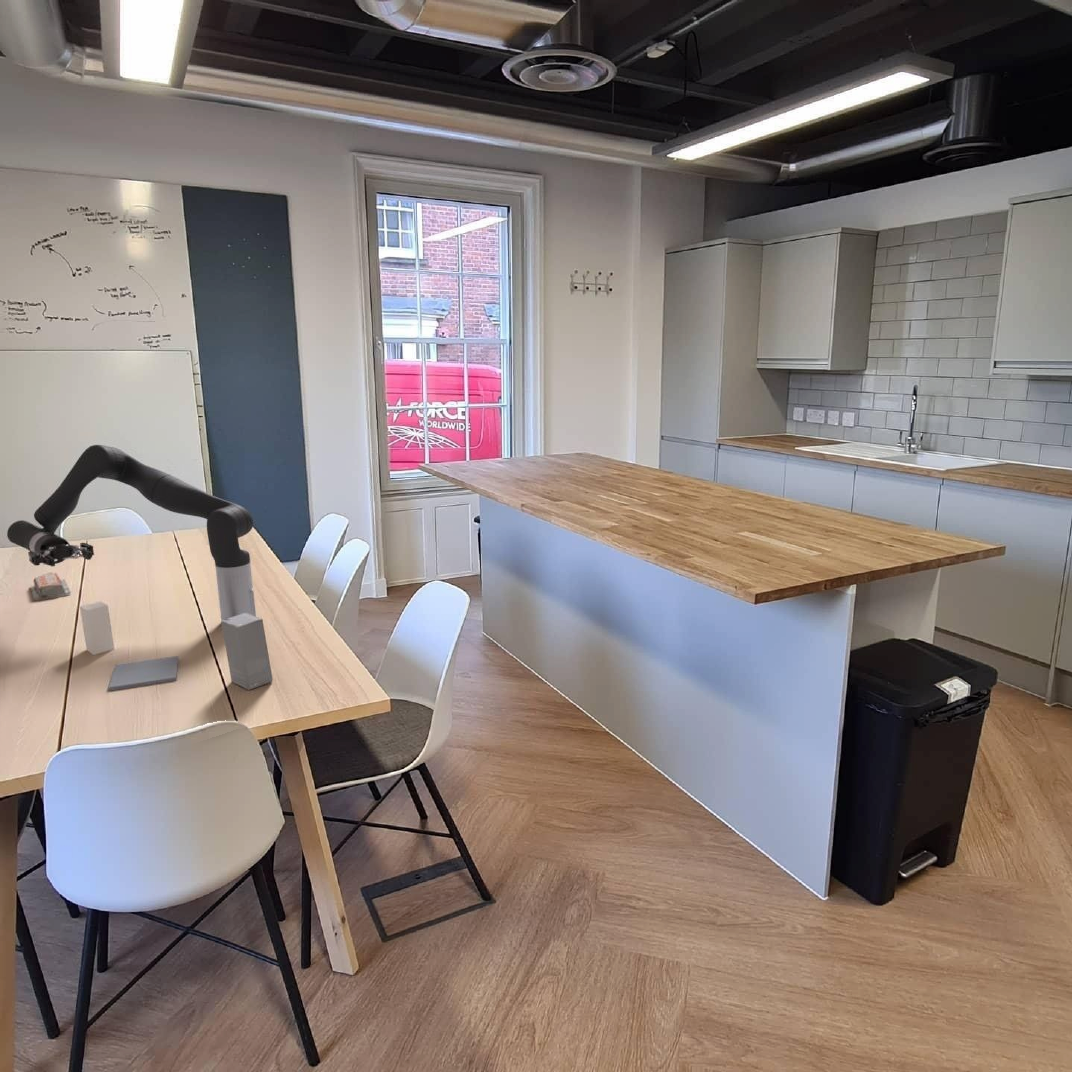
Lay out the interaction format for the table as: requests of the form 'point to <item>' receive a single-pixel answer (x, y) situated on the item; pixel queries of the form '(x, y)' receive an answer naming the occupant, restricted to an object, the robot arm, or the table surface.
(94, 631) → the cream block
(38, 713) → the table surface
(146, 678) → the grey mat
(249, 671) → the skincare box
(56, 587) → the packaged product
